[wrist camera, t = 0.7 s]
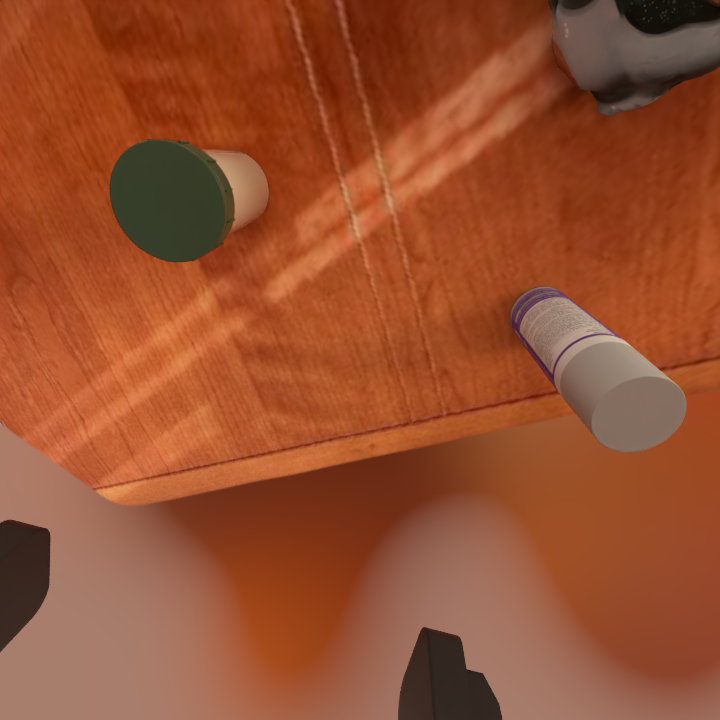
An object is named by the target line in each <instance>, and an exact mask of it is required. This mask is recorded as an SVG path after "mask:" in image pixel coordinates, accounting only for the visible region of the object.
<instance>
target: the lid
mask: <svg viewBox="0 0 720 720" xmlns="http://www.w3.org/2000/svg"><path fill="white" fill-rule="evenodd" d="M232 190H233V188H231V186H230V183H229V181H228V179H227V177H226V175H225V173H224V172H223V170H222V169H221V167H220V166H219V165H218V164H217V163H216V159H212V158H211V157H210V156H209V155H208V154H207V153H205V152H204V151H203V150H201V149H199V148H197V147H196V146H193V145H191V144H189V142H187V141H174V140H152V139H148V140H147V141H142V142H140V143H137V144H135V145H133V146H131V147H130V148H129V149H127V150H126V151H125V152H124V153H123V154H122V155H121V156H120V157H119V159H118V161H117V162H116V164H115V166H114V168H113V171H112V175H111V179H110V199H111V204H112V208H113V211H114V214H115V217H116V219H117V221H118V223H119V225H120V226H121V228H122V230H123V231H124V232H125V234H126V235H127V236H128V237H129V239H130V240H131V241H132V242H133V243H134V244H135V245H137V246H138V247H139V248H140V249H142V250H143V251H145V252H146V253H148V254H150V255H152V256H154V257H156V258H159V259H161V260H165V261H169V262H188V261H194V260H196V259H198V258H200V257H202V256H204V255H206V254H207V253H209V252H211V251H213V250H214V249H216V248H217V247H219V246H221V245H223V244H224V243H223V241H224V240H225V239H226V238H227V236H228V234H229V233H230V230H231V228H232V225H233V221H235V218H234V215H235V203H234V196H233V192H232Z"/></svg>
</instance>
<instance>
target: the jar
mask: <svg viewBox="0 0 720 720" xmlns="http://www.w3.org/2000/svg"><path fill="white" fill-rule="evenodd" d="M201 150H203V151H204V152H205V153H207V154H208V155H209V156H210V157H211V158H212V159H216V163H217V164H218V165H219V166H220V167H221V169H222V170H223V172H224V173H225V175H226V177H227V179H228V181H229V183H230V186H231V188H233V190H232V192H233V196H234V203H235V215H234V218H235V221H233V225H232V228H231V230H230V233H229V234H231V233H233V232H235V231H237V230H238V229H240V228H242V227H244V226H246V225H248V224H250V223H252V222H254V221H255V220H257V219H258V218H259V217H260V216H261V215H262V213H263V212H264V210H265V208H266V206H267V202H268V197H269V189H268V183H267V179H266V176H265V174H264V172H263V170H262V169H261V167H260V166H259V165H258V164H257V162H255V161H254V160H253V159H252V158H251V157H250V156H248V155H246V154H244V153H242V152H239V151H235V150H216V149H201ZM229 234H228V235H229Z"/></svg>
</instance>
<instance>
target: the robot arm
mask: <svg viewBox="0 0 720 720" xmlns="http://www.w3.org/2000/svg"><path fill="white" fill-rule="evenodd" d="M49 568H50V532H49V531H48V529H46V528H42V527H38V526H34V525H30V524H26V523H22V522H19V521H15V520H6V521H4V522H1V523H0V652H1V651H2V650H3V648H5V646H6V645H7V644H8V643H9V642H10V641H11V640H12V639H13V638H14V637H15V636H16V635H17V634H18V633H19V632H20V631H21V629H22V628H23V627H24V626H25V625H26V624H27V623H28V622H29V621H30V620H31V619H32V618H33V616H34V615H35V614H36V612H37V611H38V610H39V608H40V606H41V605H42V603H43V601H44V599H45V597H46V595H47V591H48V588H49V575H50V572H49V571H50V569H49ZM398 720H502V715H501V711H500V706H499V703H498V701H497V699H496V697H495V695H494V693H493V692H492V690H491V688H490V686H489V684H488V682H487V680H486V679H485V677H484V675H483V673H479V672H474V671H471V670H467V669H466V664H465V658H464V651H463V646H462V642H461V639H460V637H459V636H456V635H453V634H448V633H445V632H441V631H437V630H433V629H429V628H426V627H423V628H422V630H421V631H420V634H419V636H418V639H417V642H416V645H415V647H414V650H413V653H412V656H411V658H410V661H409V664H408V667H407V669H406V672H405V675H404V678H403V682H402V686H401V691H400V699H399V709H398Z"/></svg>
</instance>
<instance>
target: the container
mask: <svg viewBox="0 0 720 720" xmlns="http://www.w3.org/2000/svg"><path fill="white" fill-rule="evenodd" d="M510 323H511V327H512V329H513V331H514V332H515V334H516V335H517V336H518V338H519V339H520V340H521V342H522V343H523V345H524V346H525V347H526V349H527V350H528V351H529V353H530V354H531V355H532V357H533V358H534V360H535V361H536V362H537V364H538V365H539V366H540V368H541V369H542V370H543V372H544V373H545V375H546V376H547V377H548V379H549V380H550V381H551V383H552V384H553V385H554V387H555V388H556V390H557V391H558V392H559V394H560V395H561V396H562V397H563V398H564V400H565V401H566V402H567V403H568V404H569V406H570V407H571V408H572V409H573V411H574V412H575V413H576V414H577V416H578V417H579V418H580V419H581V421H582V422H583V423H584V424H585V425H586V427H587V428H588V429H589V431H590V432H591V433H592V434H593V435H594V437H595V438H596V439H597V440H598V441H599V442H600V443H601V444H602V445H603V446H605V447H607V448H609V449H612V450H615V451H619V452H638V451H642V450H646V449H649V448H652V447H654V446H656V445H658V444H660V443H662V442H663V441H665V440H666V439H668V438H669V437H670V436H671V435H672V434H673V433H674V432H675V431H676V430H677V429H678V427H679V426H680V424H681V423H682V421H683V419H684V416H685V412H686V399H685V396H684V393H683V391H682V390H681V389H680V387H679V386H678V385H677V384H675V383H674V382H673V381H672V380H671V379H669V378H668V377H667V376H666V375H665V374H664V373H662V372H661V371H660V370H659V369H658V368H656V367H655V366H654V365H653V364H652V363H650V362H649V361H648V360H647V359H646V358H645V357H643V356H642V355H641V354H640V353H639V352H637V351H636V350H635V349H634V348H633V347H631V346H630V345H629V344H628V343H627V342H626V341H624V340H623V339H622V338H620V337H619V336H618V335H616V334H615V333H614V332H613V331H611V330H610V329H609V328H607V327H606V326H605V325H603V324H602V323H601V322H600V321H598V320H597V319H596V318H594V317H593V316H592V315H590V314H589V313H588V312H587V311H585V310H584V309H583V308H581V307H580V306H579V305H577V304H576V303H575V302H573V301H572V300H571V299H570V298H568V297H567V296H566V295H564V294H563V293H562V292H560V291H559V290H557V289H554V288H551V287H538V288H534V289H531V290H529V291H527V292H526V293H524V294H523V295H521V296H520V297H519V298H518V300H517V301H516V302H515V304H514V305H513V307H512V310H511V314H510Z"/></svg>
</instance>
